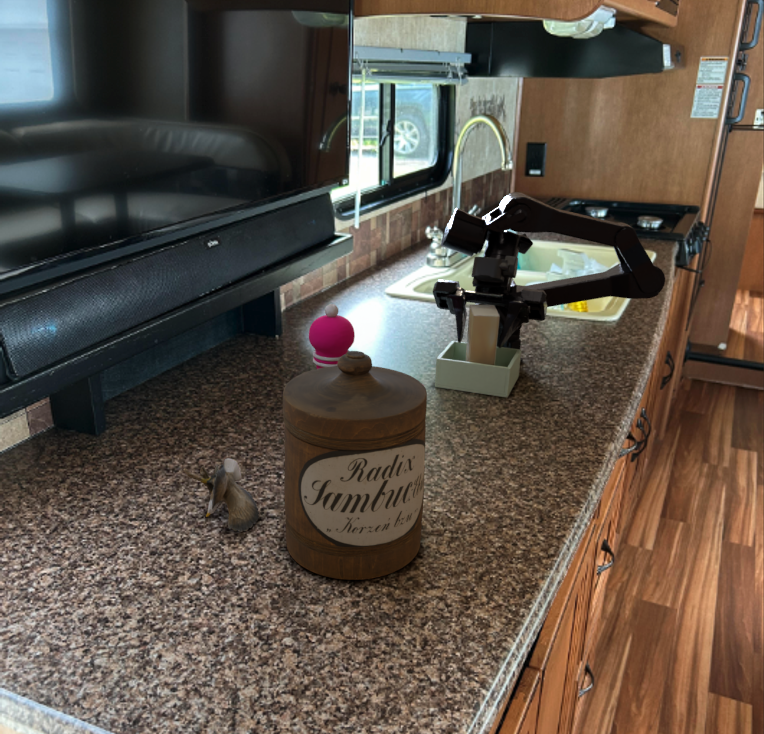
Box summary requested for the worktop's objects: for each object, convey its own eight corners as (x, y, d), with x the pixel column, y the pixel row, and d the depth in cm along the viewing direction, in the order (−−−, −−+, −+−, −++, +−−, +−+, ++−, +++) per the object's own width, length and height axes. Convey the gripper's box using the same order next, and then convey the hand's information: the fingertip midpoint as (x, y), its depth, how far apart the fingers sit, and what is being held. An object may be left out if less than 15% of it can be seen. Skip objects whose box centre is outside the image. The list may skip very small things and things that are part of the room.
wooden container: (312, 595, 76) (309, 388, 67) (269, 521, 88) (262, 338, 79) (444, 563, 82) (458, 368, 73) (387, 497, 94) (392, 324, 85)
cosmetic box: (463, 372, 133) (468, 303, 128) (488, 372, 133) (494, 304, 128) (467, 386, 127) (472, 314, 122) (493, 386, 127) (500, 315, 122)
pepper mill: (365, 437, 109) (367, 300, 101) (346, 459, 103) (347, 314, 95) (318, 429, 111) (317, 294, 103) (297, 450, 105) (294, 308, 97)
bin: (434, 386, 128) (436, 358, 126) (450, 367, 137) (452, 340, 135) (507, 397, 124) (510, 368, 122) (518, 376, 133) (521, 349, 131)
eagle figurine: (169, 501, 90) (199, 522, 82) (192, 444, 90) (225, 460, 83) (224, 518, 94) (258, 539, 87) (246, 463, 95) (282, 480, 88)
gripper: (438, 231, 127) (415, 313, 122) (552, 241, 121) (533, 327, 116) (448, 268, 137) (427, 345, 132) (554, 279, 131) (536, 360, 126)
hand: (479, 344), depth 126 cm, fingers open, 6 cm apart
